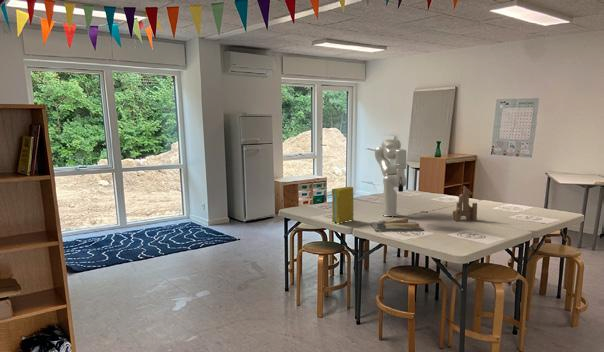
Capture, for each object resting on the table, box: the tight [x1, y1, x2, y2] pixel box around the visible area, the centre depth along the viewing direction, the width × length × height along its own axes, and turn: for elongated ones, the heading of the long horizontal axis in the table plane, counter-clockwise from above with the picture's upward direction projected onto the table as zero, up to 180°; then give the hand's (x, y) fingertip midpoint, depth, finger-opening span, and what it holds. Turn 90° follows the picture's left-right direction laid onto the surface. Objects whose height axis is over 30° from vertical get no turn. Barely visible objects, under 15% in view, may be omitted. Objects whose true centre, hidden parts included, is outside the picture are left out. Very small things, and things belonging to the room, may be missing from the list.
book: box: [331, 186, 354, 224], centre depth 298 cm, size 17×7×25 cm, turn 126°
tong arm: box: [377, 217, 409, 225], centre depth 280 cm, size 6×27×4 cm, turn 118°
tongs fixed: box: [377, 222, 420, 230], centre depth 273 cm, size 5×27×4 cm, turn 90°
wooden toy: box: [452, 185, 478, 222], centre depth 295 cm, size 16×7×25 cm, turn 90°
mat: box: [370, 221, 425, 232], centre depth 280 cm, size 22×32×1 cm
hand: (400, 190), depth 290 cm, fingers open, 9 cm apart
